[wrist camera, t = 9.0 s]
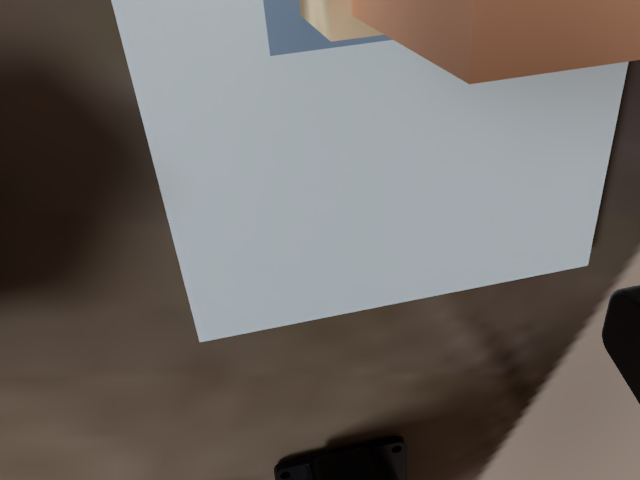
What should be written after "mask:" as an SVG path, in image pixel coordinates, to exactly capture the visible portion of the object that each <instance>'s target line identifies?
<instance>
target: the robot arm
mask: <svg viewBox="0 0 640 480" xmlns="http://www.w3.org/2000/svg"><path fill="white" fill-rule="evenodd" d="M602 338H603V343H604V346H605V348H606V350H607V352H608V353H609V355H610V356H611V358H612V360H613V361H614V363H615V364H616V366H617V368H618V369H619V371H620V373H621V374H622V376H623V378H624V379H625V381H626V382H627V384H628V386H629V387H630V389H631V391H632V392H633V394H634V395H635V397H636V399H637V400H638V402H639V404H640V286H633V287H628V288H623V289H619V290H616V291H614V293H613V294H612V295H611V297H610V300H609V305H608V309H607V313H606V317H605V322H604V326H603V330H602ZM274 474H275V480H407V455H406V444H405V442H404V439H403V438H402V437H401V436H392V437H388V438H383V439H379V440H375V441H370V442H366V443H362V444H357V445H353V446H349V447H344V448H340V449H336V450H331V451H327V452H323V453H318V454H314V455H310V456H305V457H301V458H297V459H292V460H288V461H284V462H281V463H279V464H277V465H276V466H275V468H274Z"/></svg>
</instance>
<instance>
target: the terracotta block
mask: <svg viewBox="0 0 640 480" xmlns="http://www.w3.org/2000/svg"><path fill="white" fill-rule="evenodd" d="M351 6H352V16H353V17H355V18H357V19H358V20H360V21H362V22H363V23H365V24H367V25H369V26H370V27H372V28H374V29H375V30H377V31H379V32H381V33H382V34H384V35H386V36H387V37H389V38H391V39H393V40H394V41H396V42H398V43H399V44H401V45H403V46H405V47H406V48H408V49H410V50H411V51H413V52H415V53H417V54H418V55H420V56H422V57H423V58H425V59H427V60H428V61H430V62H432V63H434V64H435V65H437V66H439V67H440V68H442V69H444V70H446V71H447V72H449V73H451V74H452V75H454V76H456V77H458V78H459V79H461V80H463V81H464V82H466V83H468V84H476V83H483V82H490V81H497V80H504V79H511V78H517V77H524V76H531V75H538V74H545V73H552V72H559V71H566V70H573V69H580V68H587V67H594V66H601V65H607V64H614V63H621V62H628V61H635V60H640V0H351Z"/></svg>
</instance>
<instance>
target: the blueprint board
mask: <svg viewBox="0 0 640 480" xmlns="http://www.w3.org/2000/svg"><path fill="white" fill-rule="evenodd" d="M111 1H112V5H113V9H114V13H115V17H116V20H117V24H118V28H119V32H120V36H121V40H122V44H123V47H124V51H125V55H126V59H127V63H128V67H129V71H130V75H131V78H132V82H133V86H134V90H135V94H136V98H137V102H138V106H139V109H140V113H141V117H142V121H143V125H144V129H145V133H146V137H147V140H148V144H149V148H150V152H151V156H152V160H153V164H154V167H155V171H156V175H157V179H158V183H159V187H160V191H161V195H162V198H163V202H164V206H165V210H166V214H167V218H168V222H169V226H170V229H171V233H172V237H173V241H174V245H175V249H176V253H177V257H178V260H179V264H180V268H181V272H182V276H183V280H184V284H185V287H186V291H187V295H188V299H189V303H190V307H191V311H192V315H193V318H194V322H195V326H196V330H197V334H198V338H199V342H204V341H210V340H215V339H220V338H225V337H230V336H235V335H240V334H245V333H250V332H255V331H260V330H265V329H270V328H275V327H280V326H285V325H290V324H295V323H300V322H305V321H310V320H315V319H321V318H326V317H331V316H336V315H341V314H346V313H351V312H356V311H361V310H366V309H371V308H376V307H381V306H386V305H391V304H396V303H401V302H406V301H411V300H416V299H421V298H426V297H432V296H437V295H442V294H447V293H452V292H457V291H462V290H467V289H472V288H477V287H482V286H487V285H492V284H497V283H502V282H507V281H512V280H517V279H522V278H527V277H532V276H537V275H543V274H548V273H553V272H558V271H563V270H568V269H573V268H578V267H583V266H588V262H589V257H590V252H591V247H592V242H593V237H594V232H595V227H596V222H597V217H598V212H599V207H600V202H601V197H602V192H603V187H604V182H605V177H606V172H607V167H608V162H609V157H610V152H611V147H612V142H613V137H614V132H615V127H616V122H617V117H618V112H619V107H620V102H621V97H622V92H623V87H624V82H625V77H626V72H627V67H628V62H629V61H628V62H621V63H614V64H607V65H601V66H594V67H587V68H580V69H573V70H566V71H559V72H552V73H545V74H538V75H531V76H524V77H517V78H511V79H504V80H497V81H490V82H483V83H476V84H468V83H466V82H464V81H463V80H461V79H459V78H458V77H456V76H454V75H452V74H451V73H449V72H447V71H446V70H444V69H442V68H440V67H439V66H437V65H435V64H434V63H432V62H430V61H428V60H427V59H425V58H423V57H422V56H420V55H418V54H417V53H415V52H413V51H411V50H410V49H408V48H406V47H405V46H403V45H401V44H399V43H398V42H396V41H394V40H393V39H391V38H389V37H387V36H386V35H378V36H371V37H363V38H356V39H348V40H340V41H333V42H331V41H330V40H328V39H327V38H326V37H325V36H324V35H323V34H321V33H320V32H319V31H318V30H317V29H316V28H314V27H313V26H312V25H311V24H310V23H308V22H307V21H306V20H305V19H304V18H303V17H301V16H300V7H299V0H111Z"/></svg>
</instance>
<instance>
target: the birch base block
mask: <svg viewBox="0 0 640 480" xmlns="http://www.w3.org/2000/svg"><path fill="white" fill-rule="evenodd" d="M299 7H300V16H301V17H303V18H304V19H305V20H306V21H307V22H308V23H310V24H311V25H312V26H313V27H314V28H316V29H317V30H318V31H319V32H320V33H321V34H323V35H324V36H325V37H326V38H327V39H328V40H330V41H331V42H333V41H340V40H348V39H356V38H363V37H371V36H378V35H384V34H382V33H381V32H379V31H377V30H375V29H374V28H372V27H370V26H369V25H367V24H365V23H363V22H362V21H360V20H358V19H357V18H355V17H353V16H352V6H351V0H299Z"/></svg>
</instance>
